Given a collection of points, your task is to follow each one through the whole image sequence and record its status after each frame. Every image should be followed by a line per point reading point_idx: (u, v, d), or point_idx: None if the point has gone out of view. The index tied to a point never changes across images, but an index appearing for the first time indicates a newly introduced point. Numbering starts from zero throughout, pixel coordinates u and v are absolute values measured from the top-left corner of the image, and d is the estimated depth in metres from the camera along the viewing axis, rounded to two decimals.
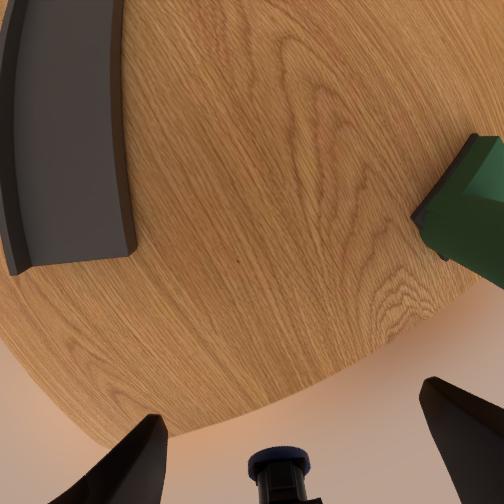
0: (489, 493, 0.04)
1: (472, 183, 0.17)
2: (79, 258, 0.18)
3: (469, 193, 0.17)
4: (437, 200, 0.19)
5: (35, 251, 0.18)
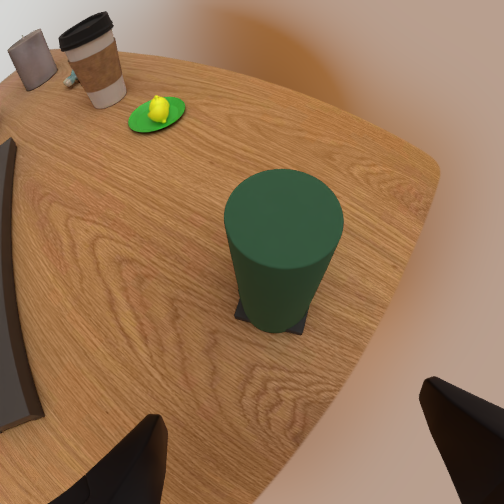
0: (489, 493, 0.04)
1: None
2: (5, 421, 0.16)
3: None
4: None
5: None
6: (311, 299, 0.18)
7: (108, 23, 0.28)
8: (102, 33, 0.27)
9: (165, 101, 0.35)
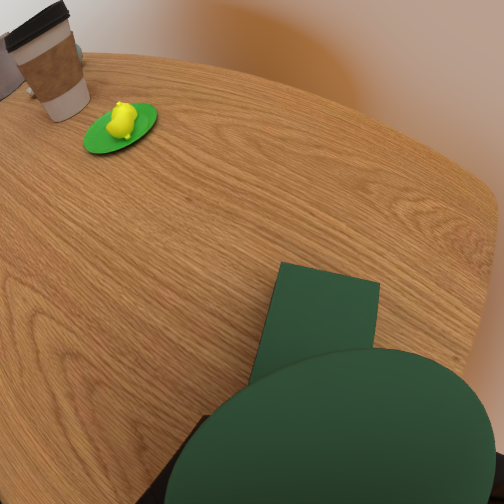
0: None
1: (256, 374, 0.12)
2: None
3: None
4: None
5: None
6: None
7: (62, 13, 0.18)
8: (53, 25, 0.18)
9: (131, 109, 0.25)
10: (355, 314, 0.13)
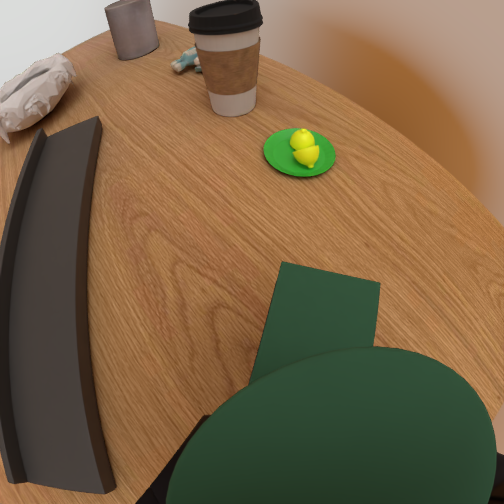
0: None
1: (256, 373, 0.12)
2: (66, 487, 0.14)
3: None
4: None
5: (30, 472, 0.14)
6: None
7: (259, 17, 0.25)
8: (251, 27, 0.24)
9: (312, 139, 0.31)
10: (355, 313, 0.13)
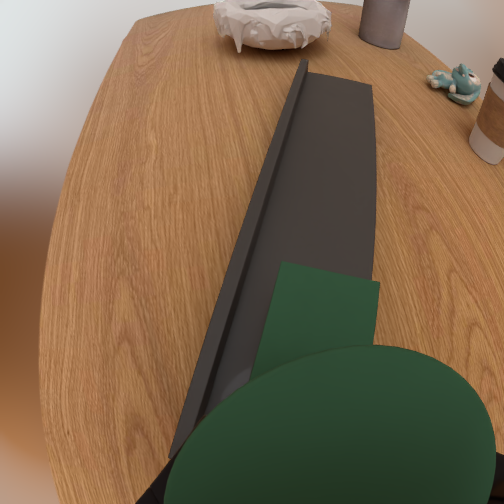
0: None
1: (256, 373, 0.12)
2: None
3: None
4: None
5: None
6: None
7: None
8: None
9: None
10: (355, 313, 0.13)
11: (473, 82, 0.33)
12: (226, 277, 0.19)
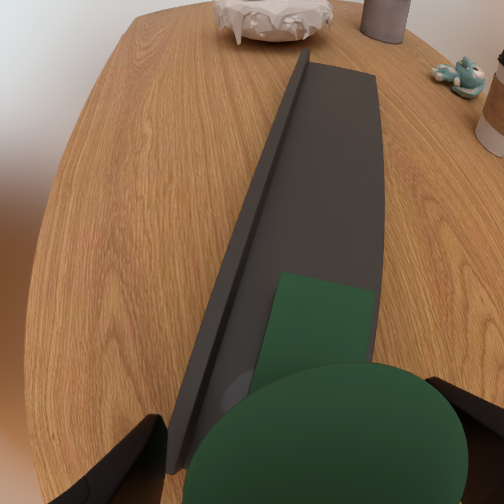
0: (489, 493, 0.04)
1: (257, 377, 0.13)
2: None
3: None
4: None
5: None
6: None
7: None
8: None
9: None
10: (351, 321, 0.14)
11: (477, 75, 0.32)
12: (222, 266, 0.17)
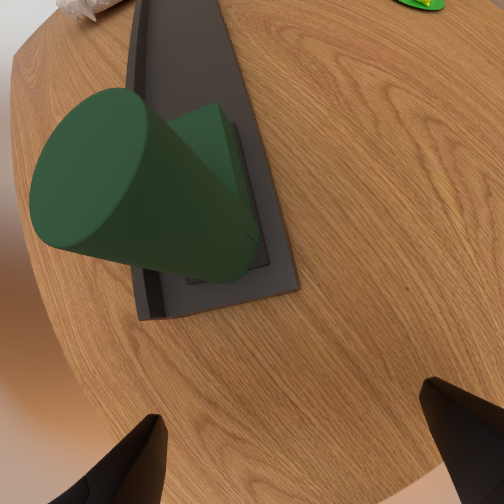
0: (490, 493, 0.04)
1: None
2: (234, 299, 0.18)
3: None
4: None
5: (172, 299, 0.19)
6: (233, 225, 0.13)
7: None
8: None
9: None
10: (205, 128, 0.17)
11: None
12: None
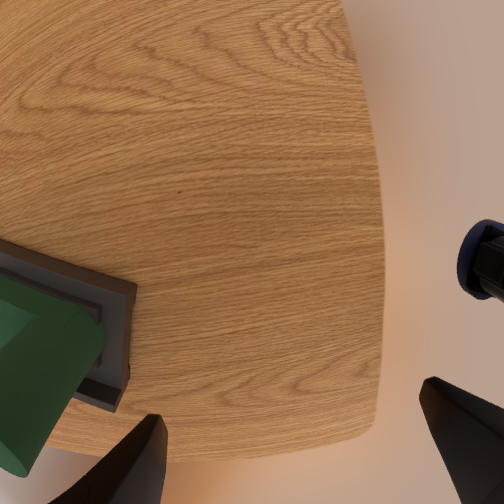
0: (489, 493, 0.04)
1: None
2: (119, 342, 0.19)
3: None
4: None
5: (108, 379, 0.20)
6: (49, 343, 0.13)
7: None
8: None
9: None
10: None
11: None
12: None
